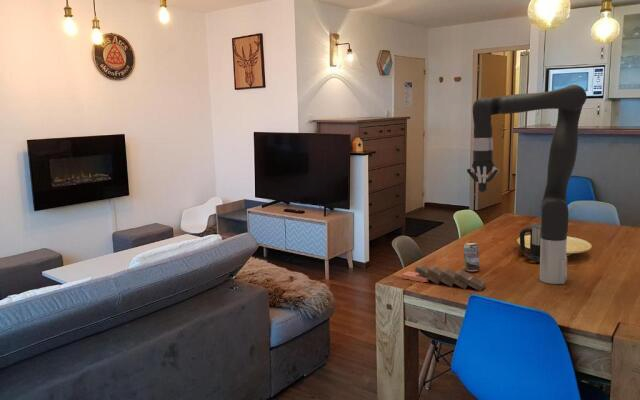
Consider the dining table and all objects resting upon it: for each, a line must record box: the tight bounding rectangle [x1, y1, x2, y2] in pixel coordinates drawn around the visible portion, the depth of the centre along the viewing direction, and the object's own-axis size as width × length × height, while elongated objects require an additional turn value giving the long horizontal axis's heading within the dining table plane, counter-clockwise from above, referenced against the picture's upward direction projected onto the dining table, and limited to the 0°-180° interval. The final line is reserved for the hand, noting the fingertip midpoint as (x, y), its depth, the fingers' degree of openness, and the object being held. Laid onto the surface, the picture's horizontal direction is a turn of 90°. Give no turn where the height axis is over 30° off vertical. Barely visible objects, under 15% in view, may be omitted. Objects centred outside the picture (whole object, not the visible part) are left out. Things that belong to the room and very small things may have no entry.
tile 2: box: [440, 267, 470, 290], centre depth 200 cm, size 2×5×11 cm
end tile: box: [401, 270, 430, 283], centre depth 210 cm, size 2×5×11 cm
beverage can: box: [463, 242, 480, 272], centre depth 217 cm, size 6×7×12 cm
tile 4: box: [414, 263, 443, 285], centre depth 207 cm, size 2×5×11 cm
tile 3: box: [427, 265, 456, 288], centre depth 204 cm, size 2×5×11 cm
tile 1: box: [454, 269, 487, 292], centre depth 197 cm, size 2×5×11 cm
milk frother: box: [519, 222, 542, 264], centre depth 228 cm, size 14×16×15 cm
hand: (482, 191), depth 205 cm, fingers closed
